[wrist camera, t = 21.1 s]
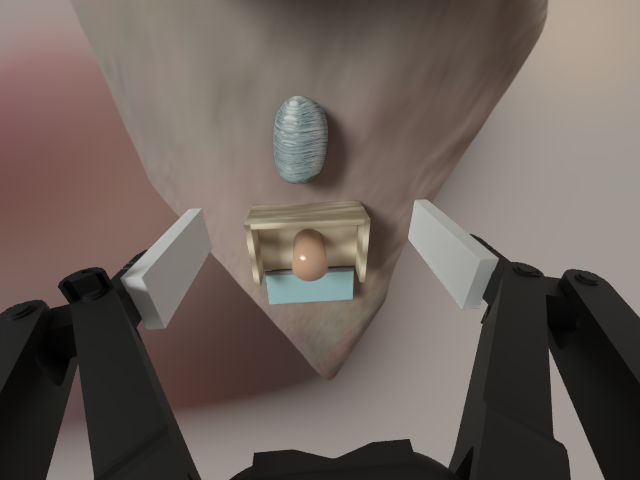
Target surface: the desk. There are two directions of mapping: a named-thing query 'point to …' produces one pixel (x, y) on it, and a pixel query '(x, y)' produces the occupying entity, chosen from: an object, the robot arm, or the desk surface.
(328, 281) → the cabinet door
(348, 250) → the crate
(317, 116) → the spool
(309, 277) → the brown egg
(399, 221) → the desk surface
